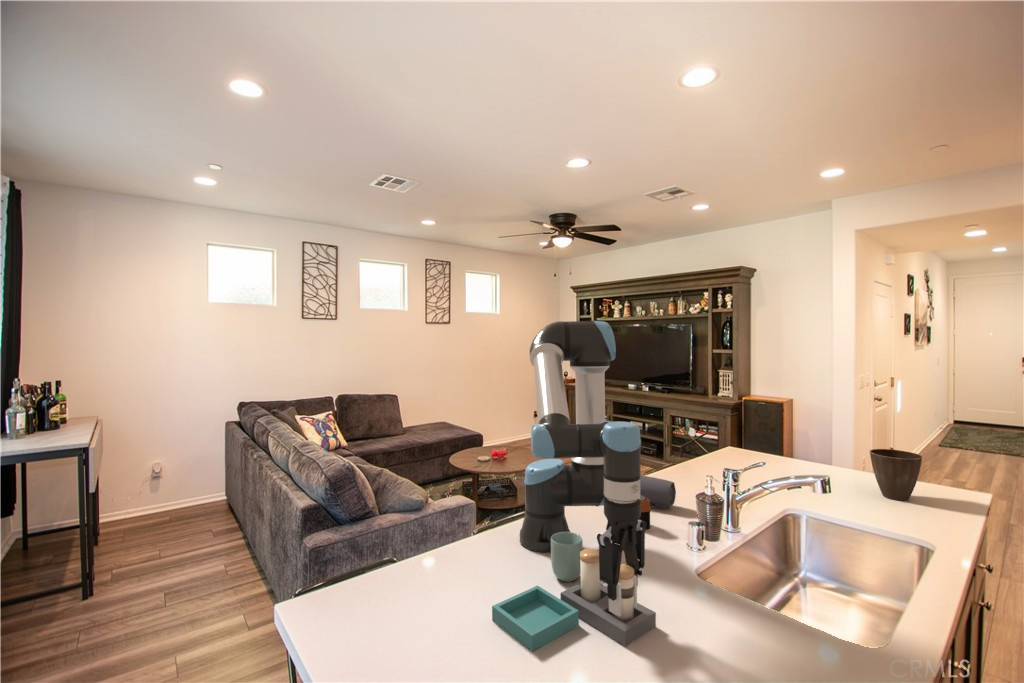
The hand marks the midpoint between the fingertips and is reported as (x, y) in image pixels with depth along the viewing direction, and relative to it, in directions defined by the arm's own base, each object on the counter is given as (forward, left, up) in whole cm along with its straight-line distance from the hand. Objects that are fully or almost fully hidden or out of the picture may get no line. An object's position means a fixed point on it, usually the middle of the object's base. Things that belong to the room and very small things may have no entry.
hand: (622, 608), depth 100 cm
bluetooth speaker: (-42, +62, -4) cm, 75 cm away
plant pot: (+14, +137, -4) cm, 138 cm away
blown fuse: (0, 0, -4) cm, 4 cm away
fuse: (-9, 0, -4) cm, 10 cm away
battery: (-30, +45, -4) cm, 54 cm away
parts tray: (-13, -13, -4) cm, 19 cm away
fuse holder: (-5, 0, -4) cm, 6 cm away
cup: (-22, +5, -4) cm, 22 cm away
